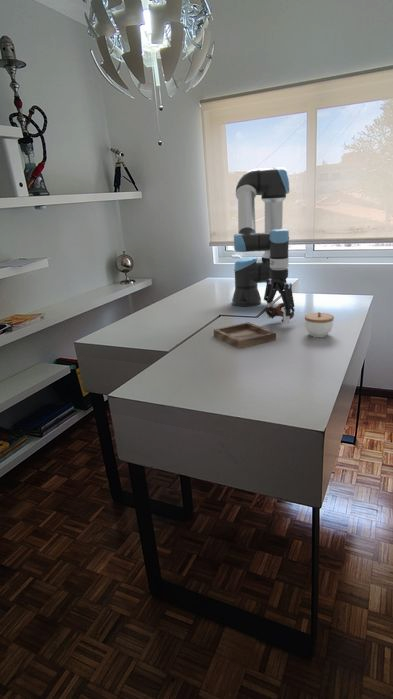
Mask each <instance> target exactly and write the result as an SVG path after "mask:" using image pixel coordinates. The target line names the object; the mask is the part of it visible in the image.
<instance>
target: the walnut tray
mask: <svg viewBox="0 0 393 699" xmlns="http://www.w3.org/2000/svg"><path fill="white" fill-rule="evenodd" d="M213 337H215V338H217V339H219V340H221V341H224V342H225V343H227V344H229V345H231V346H233V347H235V348H237V349H239V350H240V349H244V348H248V347H253V346H256V345H260V344H264V343H269V342H272V341H276V340H277V332H275V331H272V330H269V329H268V328H265V327H263V326H259V325H256V324H255V323H251V322H249V321H246V322H241V323H238V324H234V325H233V324H232V325H228V326H223V327H219V328H214V329H213Z"/></svg>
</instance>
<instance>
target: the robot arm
mask: <svg viewBox="0 0 393 699" xmlns="http://www.w3.org/2000/svg"><path fill="white" fill-rule="evenodd" d="M288 174H289V173H288V170H287V168H286V167H277V166H276V167H269V168H267V167H266V168H253V169H250V170H248V171H247V172H246V173H244V174H243V175H242V176H241V177H240V179H239V181H238V182H237V184H236V188H235V197H236V200H237V204H238V205H237V222H238V224H237V227H238V228H237V229H238V230H237V231H238V233H236V234H234V235H233V249H234V251H235V253H248V252H264V253H263V254H262V255H261V259H258V256H249V257H244V258H240V259H237V260H236V261H235V262H234V269H233V271H234V291H233V295H232V298H231V304H232V306H237V307H253V305H254V306H257V304H258V305H260V304H262V296H261V295H260V292H259V288H258V284H263V283H264V284H265V283H266V285H265V290H264V296H263V301H265V302H266V303H267V304H266V309H267V308H268V307H274V308H275V306H274V304H275V303H274V298H275V295H277V292H278V293H279V294H280V296H281V300H282V303H284V306H285V307H283V312H284V313H283V317H282V319H283V322H282V323H283V324H284V325H285V324H290V321H291V319H290V313H291V311H292V310H291V308H292V307H293V308H295V302H294V301H295V300H294V295H293V284H292V283H291V282H289V283H288V282H287V279H288V277H289V269H288V268H289V244H290V235H289V234H290V233H289V232H290V231H289V230H288V229H286V228H283V210H284V209H283V208H284V207H283V202H284V200H286V199H287V195H288V194H290V179H289V175H288ZM257 196H261V201H262V202H263V203H264V232H257V231H256V230H257V229H256V208H255V205H256V204H255V203H256V202H255V198H256V197H257ZM259 303H260V304H259ZM287 305H288V306H287ZM269 312H270V313H272V311H269ZM267 318H268V319H272V318H271V317H270V316H268V315H267Z"/></svg>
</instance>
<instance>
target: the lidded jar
mask: <svg viewBox="0 0 393 699" xmlns="http://www.w3.org/2000/svg"><path fill="white" fill-rule="evenodd" d="M334 319H335V316H334V315H333V314H331V313H326V312H322V311H317V312H310V313H307V314H306V315H305V316H304V321H305V322H304V324H305V325H304V326H305V329H306V331H307V333H308V334H309V335H310V336H311V337H312V336H313V338H318V337H321V338H325V337H327V336H326V335H328V334H330V332H331V331H332V329H333V325H334Z"/></svg>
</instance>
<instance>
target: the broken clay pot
mask: <svg viewBox="0 0 393 699" xmlns="http://www.w3.org/2000/svg"><path fill="white" fill-rule="evenodd" d="M287 306H288V305H287ZM284 308H285V306H284V303H283V302H281V303H279V304H278V305H276V306H274V307H268V308H267V307H266V309H265V314H266V315H267V317H268V316H270V317H271V318H270V319H274V318H275V317H281V318H282V319H281V323H283V313H284V310H283V309H284ZM269 311H272V313H270V312H269ZM294 317H295V307H292V308H291V310H290V320H292V318H294Z"/></svg>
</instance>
